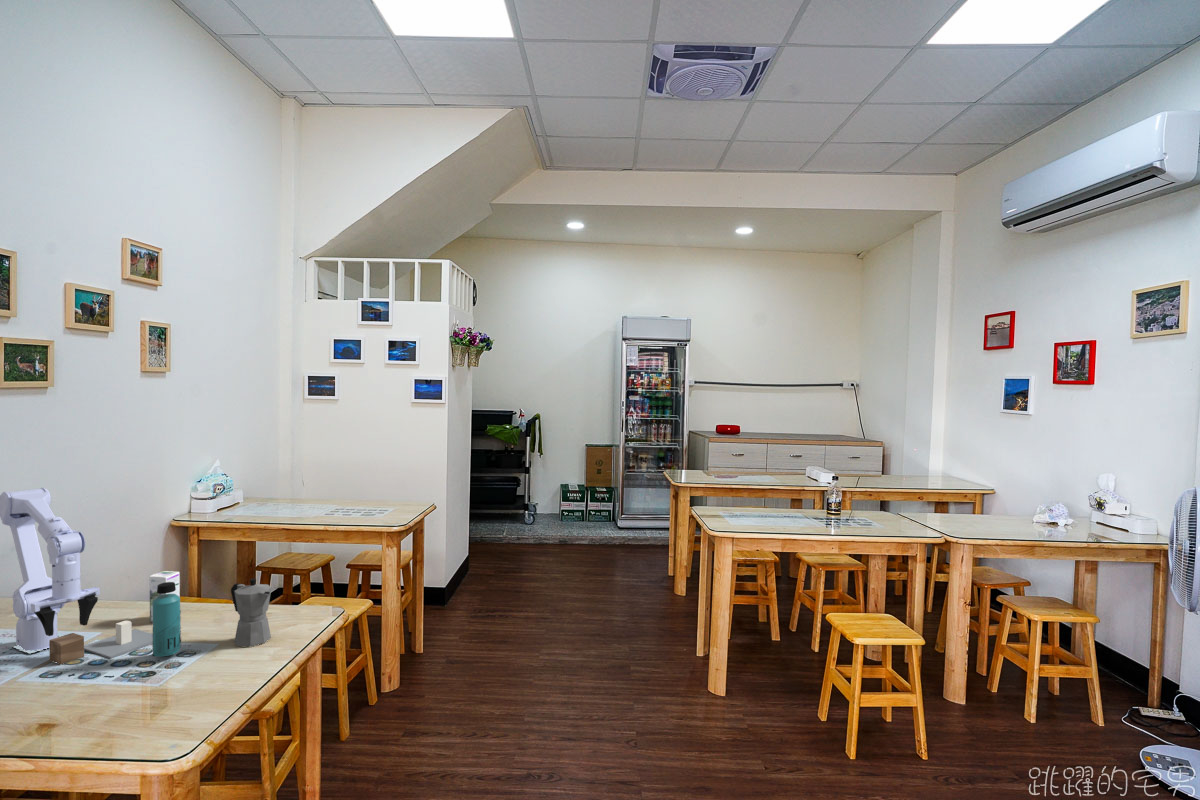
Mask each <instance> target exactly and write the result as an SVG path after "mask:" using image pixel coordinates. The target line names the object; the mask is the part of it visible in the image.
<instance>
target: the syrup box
mask: <svg viewBox="0 0 1200 800" xmlns="http://www.w3.org/2000/svg"><path fill="white" fill-rule="evenodd" d="M148 581H149V583H148V584H149V586H148V587H149V588H148V589H149V622H150V623H153V605H152V602H153V601H154V600H155V599H156V598H157V597H158V596H160V595H164V594H158V593H157V586H158V585H159V584H161V583H165V582H174V583H175V588H176V590H175V591H173V592H171V593H165V594H176V595H178V596H179V597H180V593H181V592H180V586H181V585H180V583H181V581H180V571H172V570H169V571H168V570H162V571H161V570H160V571H158V572H156V573H153V574H151V575H149V580H148ZM180 598H181V597H180Z"/></svg>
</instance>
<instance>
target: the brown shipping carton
mask: <svg viewBox="0 0 1200 800" xmlns="http://www.w3.org/2000/svg"><path fill="white" fill-rule="evenodd" d="M84 646H85V636H84V635H81V634H78V633H75V632H71V633H67V634H65V635H61V636H57V638H54V639H51V640H49V649H48V651H49V661H50V660H51V661H54V662H57V663H59V664H58V665H60V664H62V665H64V664H63V663H65V664H67V663H66V662H68V661H71V662H73V661H72V660H74V661H76V660H75V659H77V660H79V659H82V658H85V650H84ZM81 657H82V658H81ZM78 658H79V659H78ZM51 661H50V662H51ZM54 662H53V663H54ZM57 663H56V664H57ZM68 663H69V662H68Z"/></svg>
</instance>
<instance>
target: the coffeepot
mask: <svg viewBox="0 0 1200 800" xmlns="http://www.w3.org/2000/svg"><path fill="white" fill-rule="evenodd" d="M256 582H257V578H251V579H249V583H250V584H249V585H248V584H247V585H245V584H243V583H238V582H237V583H234V584H233V585H232V587H231V588H230V593H231V597H232V602H233V606H234V610H235V612H237V614H238V616H239V619H238V621H237V627H236V631H235V636H234V644H235V646H237V647H239V646H253V647H255V646H254V645H258V644H261V643H264V644H265V642H266V641H267V640H269V641H270V639H271V638H272V636H271V630H270V625H269V619H268V617H267V611H268V610H269V606H270V600H271V593H272V586H270V585H269V584H268V583H267V584H266V583H265V584H262V583H256ZM267 642H268V641H267ZM267 642H266V643H267ZM261 645H262V644H261ZM258 646H259V645H258Z"/></svg>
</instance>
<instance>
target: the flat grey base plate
mask: <svg viewBox="0 0 1200 800" xmlns="http://www.w3.org/2000/svg"><path fill="white" fill-rule="evenodd" d="M132 625H133V624H132V621H130V620H123V621H120V622H117V623H115V635H112V636H109V637H106V638H103V639H101V640H98V641H94V642H92V643H88V644H84V651H85V650H86V652H89V653H92V654H94V655H97V656H101V657H104V658H108V659H111V660H112V659H115V658H116V657H119V656H122V655H125V654H128V653H131V652H134V651H136V650H139V649H141V648H144V647H147V646H150V645H152V644H153V642H152V641H153V632H149V631H145V630H140V629H139V628H138V629H136V628H134V629H132V628H133V627H132Z"/></svg>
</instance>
